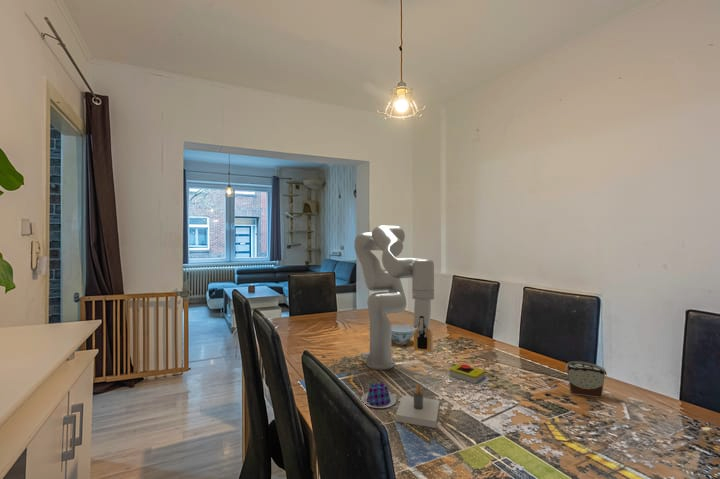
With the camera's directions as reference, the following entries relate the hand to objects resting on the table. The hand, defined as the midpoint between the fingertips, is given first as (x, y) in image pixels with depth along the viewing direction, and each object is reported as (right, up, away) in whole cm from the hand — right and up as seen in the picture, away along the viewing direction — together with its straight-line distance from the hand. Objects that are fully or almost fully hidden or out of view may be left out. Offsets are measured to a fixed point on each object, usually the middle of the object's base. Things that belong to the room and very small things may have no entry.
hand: (423, 345), depth 115 cm
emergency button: (+21, -19, +16) cm, 32 cm away
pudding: (-16, -18, -4) cm, 24 cm away
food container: (+58, -18, +3) cm, 61 cm away
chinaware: (0, -18, +60) cm, 63 cm away
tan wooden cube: (0, -1, 0) cm, 1 cm away
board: (-4, -18, -12) cm, 22 cm away
